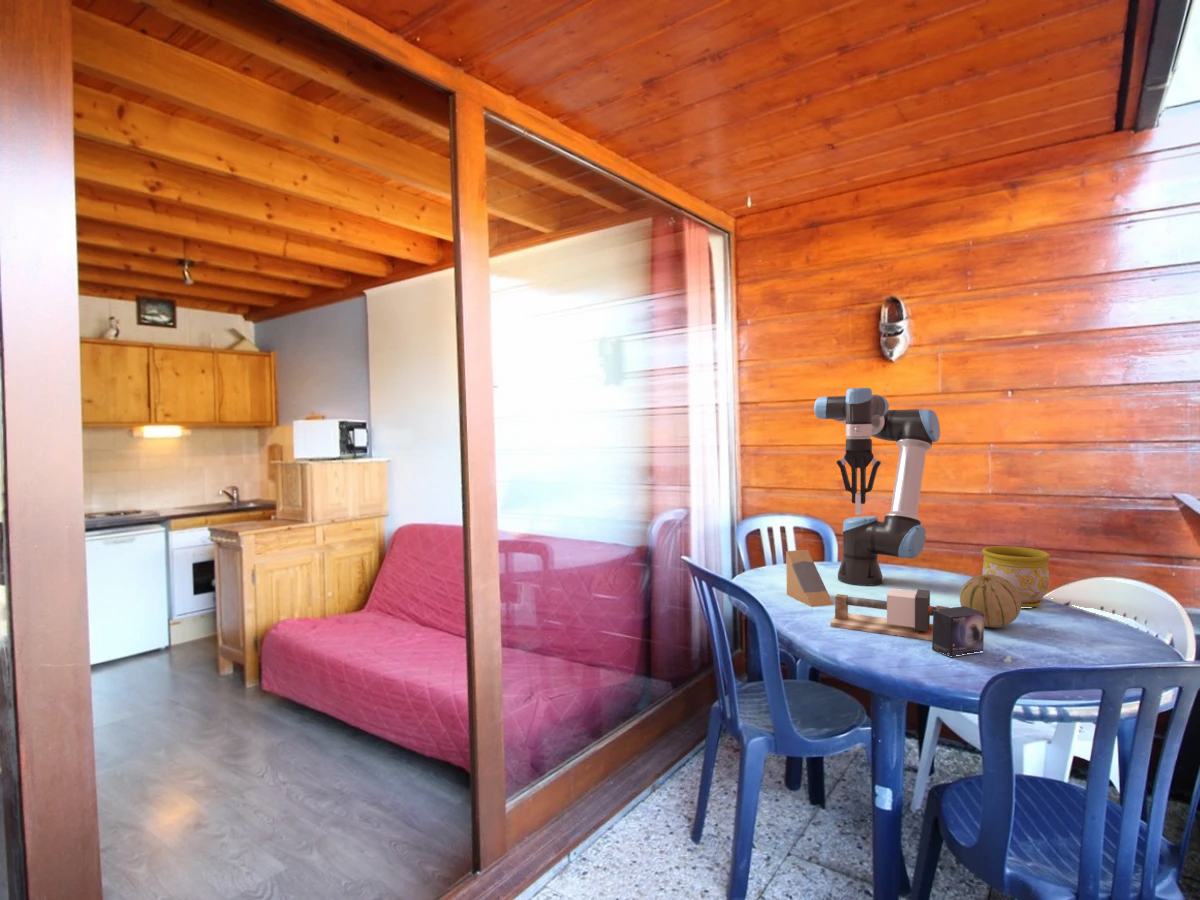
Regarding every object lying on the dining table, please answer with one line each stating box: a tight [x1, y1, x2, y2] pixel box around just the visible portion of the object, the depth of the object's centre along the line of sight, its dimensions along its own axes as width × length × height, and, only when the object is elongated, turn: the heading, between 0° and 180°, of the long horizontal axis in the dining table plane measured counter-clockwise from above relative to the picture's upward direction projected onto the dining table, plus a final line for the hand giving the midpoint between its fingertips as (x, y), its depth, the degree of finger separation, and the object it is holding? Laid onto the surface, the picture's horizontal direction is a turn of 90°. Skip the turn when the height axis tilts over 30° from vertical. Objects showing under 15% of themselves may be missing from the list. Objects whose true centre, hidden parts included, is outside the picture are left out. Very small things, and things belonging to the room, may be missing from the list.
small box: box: [931, 606, 985, 656], centre depth 163 cm, size 11×6×10 cm, turn 106°
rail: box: [830, 593, 950, 641], centre depth 181 cm, size 30×11×8 cm, turn 59°
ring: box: [915, 588, 931, 632], centre depth 177 cm, size 3×9×9 cm, turn 149°
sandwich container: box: [785, 549, 835, 608], centre depth 211 cm, size 9×15×15 cm, turn 14°
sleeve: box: [886, 588, 917, 628], centre depth 179 cm, size 7×8×8 cm
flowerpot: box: [981, 545, 1051, 608], centre depth 203 cm, size 18×18×16 cm
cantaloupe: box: [959, 574, 1021, 629], centre depth 182 cm, size 15×15×15 cm
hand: (858, 514), depth 200 cm, fingers closed
